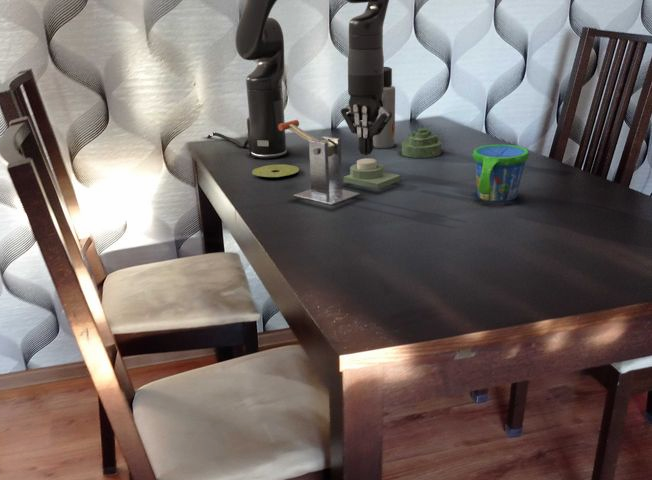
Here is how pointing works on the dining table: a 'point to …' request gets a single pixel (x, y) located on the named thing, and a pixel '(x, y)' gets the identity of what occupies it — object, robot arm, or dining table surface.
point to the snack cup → (499, 171)
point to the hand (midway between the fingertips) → (365, 153)
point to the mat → (275, 170)
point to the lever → (303, 134)
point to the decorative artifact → (421, 144)
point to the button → (366, 164)
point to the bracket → (326, 174)
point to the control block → (371, 177)
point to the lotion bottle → (388, 99)
